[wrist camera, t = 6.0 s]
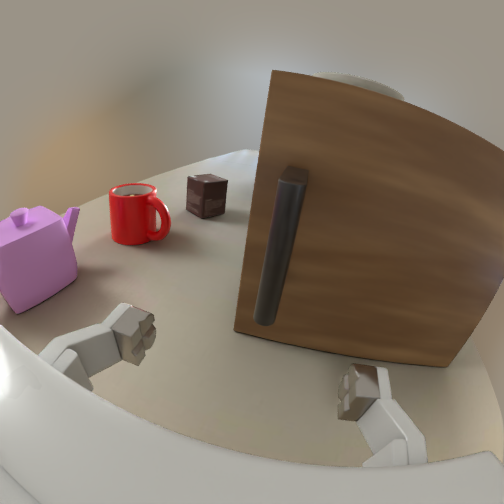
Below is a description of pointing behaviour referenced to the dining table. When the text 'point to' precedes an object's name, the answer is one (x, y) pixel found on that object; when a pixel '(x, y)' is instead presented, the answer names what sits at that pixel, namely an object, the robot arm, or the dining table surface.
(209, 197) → the box
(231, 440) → the dining table surface
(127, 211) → the mug
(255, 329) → the cupboard door
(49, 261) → the teapot
